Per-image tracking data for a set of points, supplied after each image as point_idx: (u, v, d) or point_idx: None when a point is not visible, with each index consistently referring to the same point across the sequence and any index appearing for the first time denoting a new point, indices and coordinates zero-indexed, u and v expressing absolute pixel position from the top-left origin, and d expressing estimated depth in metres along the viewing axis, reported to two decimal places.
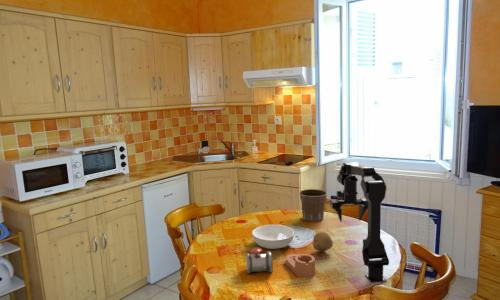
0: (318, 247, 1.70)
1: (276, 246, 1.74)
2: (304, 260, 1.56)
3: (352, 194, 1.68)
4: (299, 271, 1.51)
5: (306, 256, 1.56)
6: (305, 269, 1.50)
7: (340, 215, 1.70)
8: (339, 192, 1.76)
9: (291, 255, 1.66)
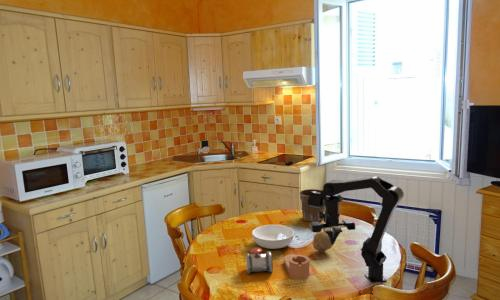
0: (318, 247, 1.70)
1: (276, 246, 1.74)
2: (300, 261, 1.56)
3: (333, 216, 1.53)
4: (292, 271, 1.50)
5: (302, 257, 1.55)
6: (297, 270, 1.49)
7: (331, 238, 1.56)
8: (320, 213, 1.61)
9: (290, 255, 1.65)
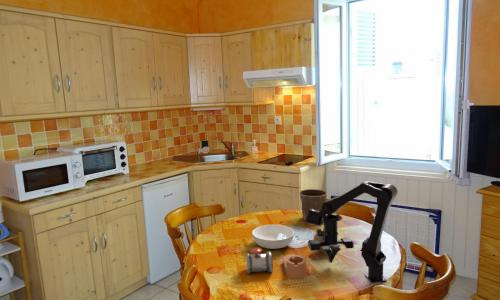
0: None
1: (276, 246, 1.74)
2: (297, 261, 1.55)
3: (332, 235, 1.55)
4: (288, 271, 1.51)
5: (299, 258, 1.55)
6: (293, 270, 1.49)
7: (329, 256, 1.57)
8: (319, 230, 1.63)
9: (290, 255, 1.65)
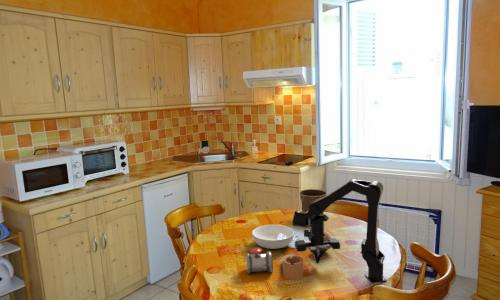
0: None
1: (276, 246, 1.74)
2: (295, 262, 1.55)
3: (318, 235, 1.54)
4: (284, 271, 1.51)
5: (297, 258, 1.54)
6: (289, 270, 1.49)
7: (316, 257, 1.57)
8: (306, 231, 1.62)
9: (290, 255, 1.65)
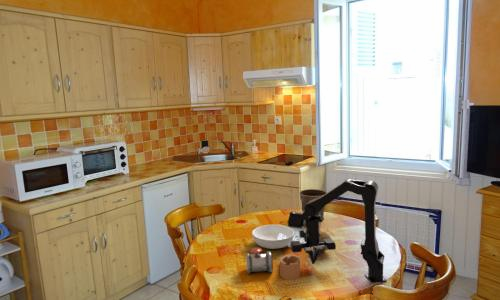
0: None
1: (276, 246, 1.74)
2: (292, 262, 1.55)
3: (314, 236, 1.54)
4: (281, 271, 1.51)
5: (294, 258, 1.54)
6: (285, 270, 1.49)
7: (311, 258, 1.57)
8: (301, 232, 1.62)
9: (290, 255, 1.65)
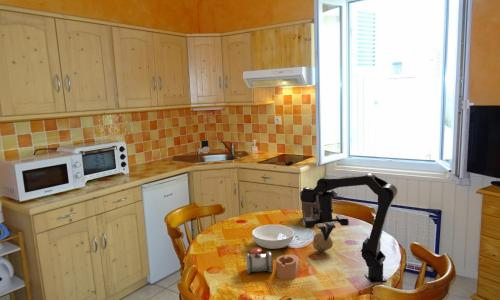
0: (318, 247, 1.70)
1: (276, 246, 1.74)
2: (290, 262, 1.55)
3: (327, 212, 1.53)
4: (277, 270, 1.52)
5: (291, 258, 1.54)
6: (281, 270, 1.50)
7: (324, 234, 1.55)
8: (314, 208, 1.61)
9: (289, 255, 1.65)
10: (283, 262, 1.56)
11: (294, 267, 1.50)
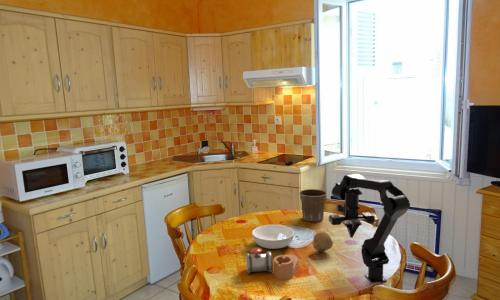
0: (318, 247, 1.70)
1: (276, 246, 1.74)
2: (287, 262, 1.55)
3: (353, 209, 1.55)
4: (274, 269, 1.53)
5: (289, 258, 1.54)
6: (277, 269, 1.50)
7: (350, 231, 1.57)
8: (339, 206, 1.63)
9: (289, 255, 1.65)
10: (281, 262, 1.56)
11: (291, 267, 1.50)
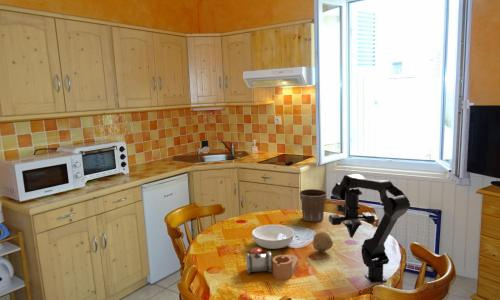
0: (318, 247, 1.70)
1: (276, 246, 1.74)
2: (286, 262, 1.55)
3: (353, 209, 1.55)
4: None
5: (288, 258, 1.54)
6: (276, 269, 1.50)
7: (350, 231, 1.57)
8: (339, 206, 1.63)
9: (289, 255, 1.65)
10: (280, 262, 1.56)
11: (289, 267, 1.50)
